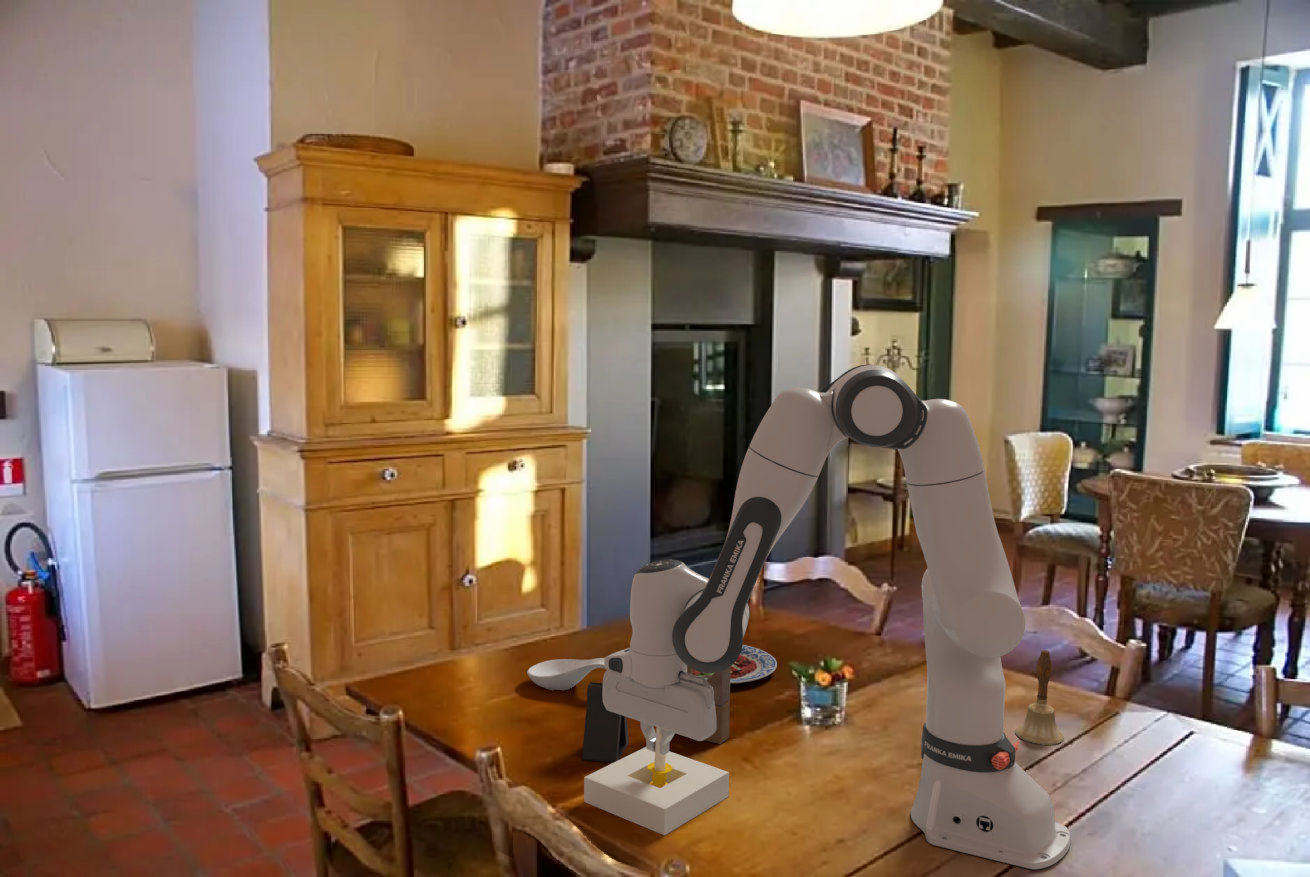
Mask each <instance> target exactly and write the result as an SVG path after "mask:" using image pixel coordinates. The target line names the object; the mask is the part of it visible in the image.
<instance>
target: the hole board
mask: <svg viewBox="0 0 1310 877" xmlns="http://www.w3.org/2000/svg"><path fill="white" fill-rule="evenodd" d="M653 762H655V752H653V751H650V750H647V748H646V746H645V747H642V748H641V749H639V750H637V751H634V752H633V753H630V754H629V755H627V756H624V757H622V758H621V759H620V758H619V760H618V761H616V762H614V763H610V764H609V765H606V766H604V767H602V768H600V769H598V770H596V771H594V772H592V773H590V774H588V775H586V776H584V777H583V778H584V779H583V800H584V801H583V802H584V803H586V804H588V805H590V806H593V807H596V808H598V809H601V810H602V811H605V812H606V813H607V812H608V813H610V814H613V815H614V816H617V817H618V818H621V819H625V820H627V821H629V822H631V823H634V824H637V825H638V826H641V827H643V828H646V829H648V830H650V831H653V832H655V833H657V834H660V835H662V836H667V835H669V833H671V832H673V831H675V830H677V829H678V828H680V827H681V826H683V825H684V824H686V823H687V822H690V821H691V820H692V819H695V818H696V817H697V816H699V815H701V814H703V813H704V812H707V810H709V809H710V808H712V807H714V806H715V805H717V804H719V803H720V802H722V801H724V800H726V799H727V798H728V797H729V796H730V794H729V792H730V772H729V771H727V770H723V769H721V768H718V767H715V766H713V765H709V764H706V763H705V762H701V761H698V760H695V759H692V758H689V757H687V756H684V755H681V754H678V753H675V752H672V751H670V750H669V752H668V753H667V754H666V761H665V763H668V764H670V765H671V766H672V770H671V771H670V772H668V773H667V774H666V777H667V779H666V782H667V783H668V784H667V785H665V786H664V787H662V788H658V787H655V786H653V785H650V784H649V783H650V782H652V776H653V772H651V771H649V770H648V768H647V766H648V765H649V764H650V763H653Z"/></svg>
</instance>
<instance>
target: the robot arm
mask: <svg viewBox="0 0 1310 877" xmlns="http://www.w3.org/2000/svg"><path fill="white" fill-rule="evenodd" d="M970 419H971V418H970V417H969V415H968V413H967V411H966V409H965V408H964V407H963V406H962V405H961V404H960V403H958V402H956V401H953V400H951V399H945V398H934V399H933V398H932V399H927V400H922V399H920V398H919V397H918V396H917V394H916V393H915V392H914V390H912V388H911V387H910V386H909V385H908V384H907V383H906V382H905V381H904V379H902V377H901V376H899V374H898V373H896V372H895V371H894V370H892V369H890V368H887V367H885V366H882V365H877V364H876V365H875V364H862V365H857V366H854V367H852V368H850V369H848V370H847V371H845V372H844V373H842V374H841V375H839V377H837V378H835V380H833V381H832V382H831V383H829V384H828V385H827V386H825V387H823V389H821V391H816V390H814V389H811V388H808V387H801V386H800V387H797V386H796V387H790V388H786V389H784V390H783V391H781V392H780V393H778V395H777V396H776V398H775V399H774V400H773V402H772V404H771V405H770V407H769V408H768V410H767V411H766V413H765V414H764V416H763V418H762V419H761V421H760V423H759V425H758V427H757V429H756V431H755V433H754V435H753V437H752V439H751V442H750V443H749V446H748V448H747V450H746V453H745V456H744V457H743V458H744V459H743V462H742V464H741V468H740V470H739V475H738V479H737V483H736V489H735V493H734V500H733V504H732V505H733V506H732V512H731V519H730V523H729V527H728V530H727V535H726V539H725V541H724V543H723V545H722V548H721V551H720V553H719V554H718V558H717V559H716V561H715V564H714V567H713V569H712V571H711V573H710V575H709V578H708V577H706V576H705V575H701V574H699V573H697V572H696V571H694V570H692V569H691V568H690V567H688V566H687V565H686V564H685V563H684V562H683V561H681V560H677V559H661V560H660V559H659V560H655V561H651V562H650V563H646V564H644V565H642V566H641V567H640V568H639V569H638V570H637V571H636V572H635V574H634V576H633V579H632V584H631V589H630V603H629V604H630V605H629V606H630V607H629V619H630V620H629V621H630V625H631V627H632V629H631V630H632V632H631V633H632V635H631V638H630V642H629V647H627V648H625V649H621V650H619V651H616V652H612V653H611V654H609V655H607V656H605V657H604V658H605V659H604V665H605V668H606V669H605V672H604V674H603V679H602V683H603V692H602V695H603V704H604V706H605V708H606V709H607V710H608V711H610V712H613V713H616V714H619V715H622V716H625V717H626V718H627V719H628V718H629V719H632V720H634V721H638V722H639V723H640V730H641V732H642V734H643V736H644V739H645V741H646V742H645V743H646V746H645V747H646V748H647V750H650V751H653V752H655V750H656V749H655V748H656V729H655V728H654V727H659V728H660V734H662V735H663V737H662V739H661V741H660V743H659V744H660V754H662V755H665V754H667V753H668V752H669V751H670V742H671V741H672V739H673V738H674V736H675V734H676V733H677V735H680V736H683V737H686V738H690V739H693V740H695V741H698V742H702V741H705V739H707V738H708V737H710V736H712V735H713V734H714V733H715V731H716V711H715V703H714V690H713V687H711V685H710V684H709V683H708V682H707V680H706V679H705V678H703V677H699V676H698V677H697V676H694V675H692V674H689V673H687V666H689V667H690V668H692V669H694V670H696V671H699V672H703V673H716V672H720V671H723V670H725V669H727V668H729V667H730V666H732V665H733V664H734V663H735V662H736V660H737V659H738V657H739V655H740V653H741V650H742V645H744V644H743V643H744V636H745V634H746V630H747V627H748V623H749V621H750V614H751V613H750V612H751V611H750V605H749V603H748V602H749V600H750V597H751V595H752V593H753V591H754V588H755V586H756V583H757V582H758V578H759V576H760V574H761V573H762V569H763V567H764V565H765V562H766V561H767V558H768V556H769V554H770V553H771V551H772V549H774V546H775V545H776V543H777V542H778V541H779V539H780V538H781V536H782V535H783V534H784V532H785V531H786V530H787V528H788V527H789V526H790V524H791V523H792V522H793V520H794V519H795V517H797V515H798V513H799V512H800V511H801V509H802V508H803V506H804V505H805V503H806V501H807V500H808V498H809V496H810V495H811V493H812V491H813V489H814V487H815V485H816V483H817V481H818V478H819V476H820V473H821V472H822V469H823V467H824V465H825V462H826V459H828V456H829V455H830V453H831V451H832V450H833V449H834V447H835V446H836V445H837V444H838V443H840V442H841V441H844V440H846V439H851V440H853V441H854V442H856V443H858V444H860V445H862V446H865V447H866V446H867V447H872V448H885V449H886V448H887V449H896V450H897V451H898V453H899V455H900V459H901V462H902V465H903V470H904V476H905V482H906V488H907V492H908V498H909V502H910V507H911V508H910V509H911V513H912V516H913V523H914V526H915V532H916V536H917V539H918V542H919V545H920V547H921V550H922V555H923V556H924V560H925V564H926V566H927V568H926V570H925V571H924V573H923V575H922V579H921V597H922V610H923V611H922V614H923V615H922V616H923V634H924V635H923V636H924V637H923V638H924V647H925V648H924V649H925V660H926V675H927V678H926V679H927V680H926V684H927V685H926V704H925V708H926V709H925V722H924V724H923V725H922V732H921V739H920V740H921V741H920V742H921V743H920V745H921V746H920V747H921V748H920V749H921V752H920V753H921V754H920V756H921V759H922V764H921V766H922V767H921V773H920V777H919V783H918V788H917V792H916V796H915V799H914V802H913V804H912V807H911V810H910V819H911V820H912V822H913V824H915V825H916V826H917V827H918V828H919V829H920V830H921V831H922V832H923V833H924V836H925V839H926V841H927V842H928V843H929V844H931V845H933V846H936V847H941V848H944V849H948V850H952V851H957V852H961V853H966V854H969V855H973V856H976V857H981V858H985V859H989V860H993V861H996V862H1002V863H1005V864H1010V865H1013V866H1017V867H1021V868H1026V869H1028V870H1029V869H1030V870H1040V869H1045V868H1048V867H1051V866H1053V865H1054V864H1056V863H1058V862H1059V861H1060V860H1061V859H1062V858H1063V857H1064V856H1065V855H1066V854H1067V852H1068V851H1069V849H1070V847H1071V833H1070V830H1069V828H1067V826H1065V825H1064V824H1061V823H1059V822H1057V821H1056V820H1055V819H1056V818H1055V810H1054V804H1053V801H1052V798H1051V796H1050V795H1049V793H1048V791H1046V790H1045V789H1044V788H1043V787H1042V786H1041V785H1040V784H1039V783H1037V781H1035V779H1033V778H1032V777H1031V776H1030V774H1028V773H1027V772H1026V771H1025V770H1024V769H1023V768H1022V767H1021V766H1020V765H1019V764H1018V763H1017V762H1016V752H1018V750H1019V744H1020V741H1019V740H1016V741H1015V743H1012V742H1011V741H1010V740H1009V739H1008V737H1007V735H1006V733H1005V732H1004V725H1005V724H1004V723H1005V707H1006V706H1005V705H1006V704H1005V703H1006V688H1007V687H1006V686H1007V685H1006V679H1005V674H1004V670H1003V666H1002V664H1003V663H1002V658H1001V657H1003V656H1005V655H1008V654H1009V653H1010V652H1012V651H1013V650H1014V649H1015V648H1016V647H1017V646H1018V645H1019V644H1020V643H1021V641H1022V639H1023V637H1024V635H1025V631H1026V617H1025V613H1024V610H1023V607H1022V604H1021V602H1020V599H1019V595H1018V593H1017V589H1016V586H1015V582H1014V577H1013V575H1012V571H1011V569H1010V568H1011V567H1010V565H1009V562H1008V558H1007V555H1006V553H1005V552H1006V551H1005V549H1004V547H1003V543H1002V540H1001V537H1000V535H999V532H998V527H997V524H996V521H995V516H994V512H993V506H992V501H991V495H990V491H989V485H988V482H987V475H986V472H985V471H986V470H985V465H984V461H983V455H982V453H981V448H980V444H979V441H978V438H977V435H976V432H975V430H974V428H973V427H974V426H973V425H972V422H971V420H970ZM705 684H706V685H705Z"/></svg>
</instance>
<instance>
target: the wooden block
mask: <svg viewBox="0 0 1310 877" xmlns="http://www.w3.org/2000/svg"><path fill="white" fill-rule="evenodd" d="M730 669H731V666H730V667H729V668H727V669H725V670H723V671H720V672H716V673H714V674H713V675H712V676H710V677H709V678H708V679H707V682H708V683H709V684H710V685H711V687H713V690H714V703H715V711H716V731H715V733H714V734H713V735H712V736H710V737H708V738H707V739H705V740H704V741H705V742H711V743H714V744H718V745H722V744H723V743H725V742H726V741H727V740H728V739H729V737H730V714H731V712H730V710H731V709H730V706H731V701H730V699H731V698H730V697H731V684H730ZM687 673H689V674H693V669H692V668H690V667H689V666H687ZM705 685H706V684H705ZM675 734H677V733H675ZM677 735H678V734H677Z"/></svg>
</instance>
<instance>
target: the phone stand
mask: <svg viewBox="0 0 1310 877" xmlns="http://www.w3.org/2000/svg"><path fill="white" fill-rule="evenodd" d="M586 689H587V690H586V710H585V720H584V731H583V739H582V741H583V743H582V751H581V761H590V762H597V763H598V762H599V763H608V764H609V763H610V764H612V763H614V762H616V761H618V760H620V758H621V756H622V754H623V753H624V752H625V750H626V748H627V746H628V745H629V742H630V740H629V731H628V717H625V716H622V715H619V714H616V713H613V712H610V711H608V710H607V709H606V708H605V706H604V704H603V695H602V692H603V682H592V681H590V682H589V683H588V685H587V688H586Z"/></svg>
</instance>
